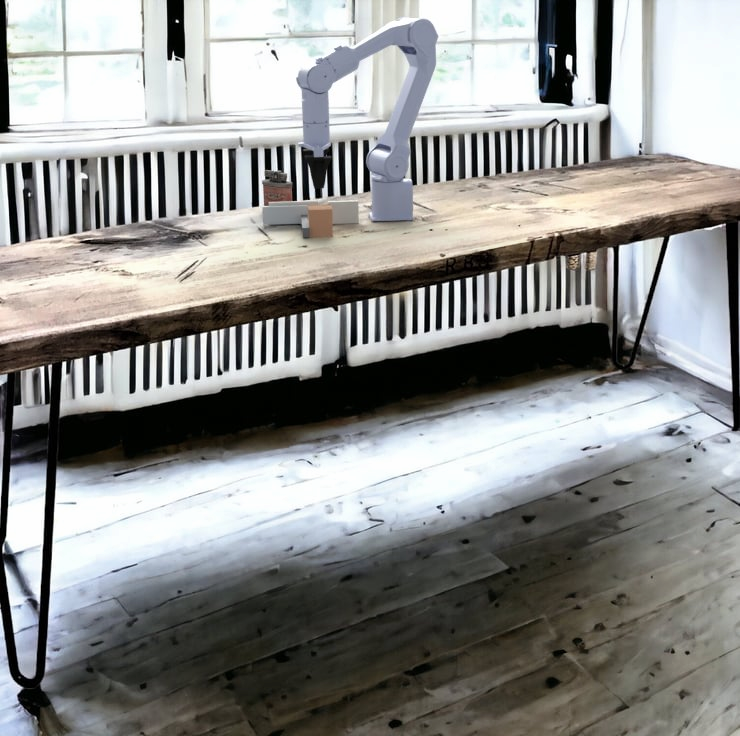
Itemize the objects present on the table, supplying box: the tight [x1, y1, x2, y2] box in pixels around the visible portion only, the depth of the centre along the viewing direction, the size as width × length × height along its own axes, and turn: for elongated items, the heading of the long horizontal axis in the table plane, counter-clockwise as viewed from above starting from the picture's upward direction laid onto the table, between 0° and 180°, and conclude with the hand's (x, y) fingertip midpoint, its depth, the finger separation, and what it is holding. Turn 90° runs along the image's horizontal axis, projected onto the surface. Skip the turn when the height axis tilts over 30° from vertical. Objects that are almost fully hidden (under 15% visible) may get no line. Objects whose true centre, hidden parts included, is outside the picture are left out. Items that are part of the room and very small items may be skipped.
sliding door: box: [262, 205, 311, 238], centre depth 226 cm, size 10×14×4 cm
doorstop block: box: [308, 204, 334, 238], centre depth 222 cm, size 5×4×6 cm
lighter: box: [261, 169, 293, 206], centre depth 241 cm, size 8×3×10 cm, turn 58°
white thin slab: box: [269, 199, 360, 225], centre depth 232 cm, size 20×2×5 cm, turn 95°
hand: (318, 184), depth 227 cm, fingers open, 7 cm apart
